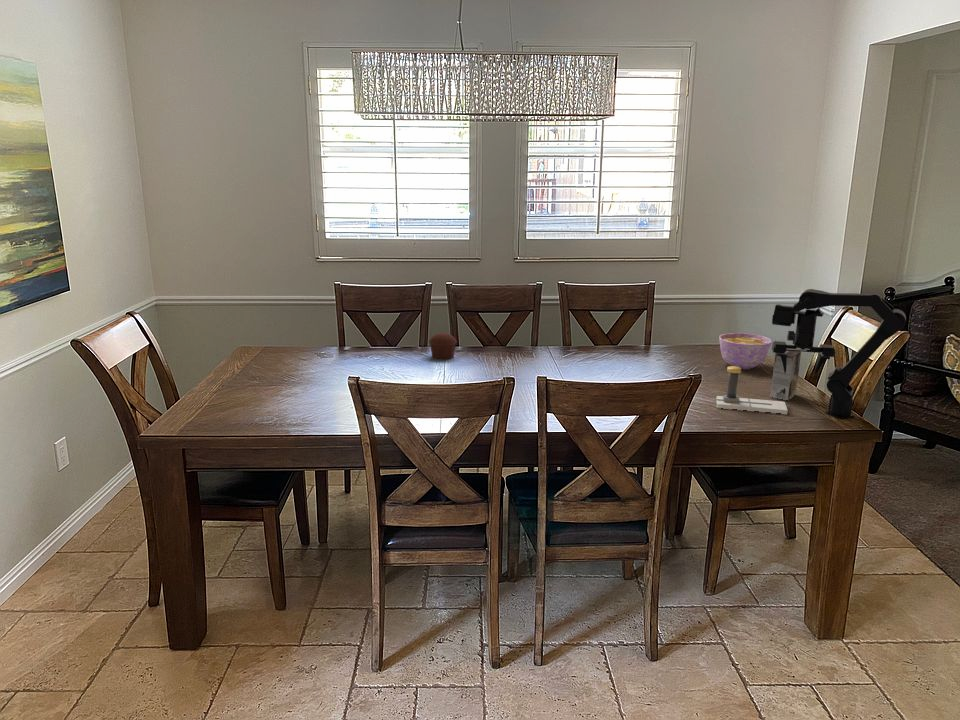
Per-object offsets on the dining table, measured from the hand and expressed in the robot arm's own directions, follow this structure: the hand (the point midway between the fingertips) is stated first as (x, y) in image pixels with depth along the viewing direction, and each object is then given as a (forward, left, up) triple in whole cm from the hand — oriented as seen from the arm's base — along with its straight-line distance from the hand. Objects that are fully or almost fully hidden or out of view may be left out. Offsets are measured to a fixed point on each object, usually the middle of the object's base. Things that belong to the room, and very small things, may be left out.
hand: (799, 373), depth 243 cm
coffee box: (+12, -5, -12) cm, 18 cm away
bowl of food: (+48, -16, -12) cm, 52 cm away
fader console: (+5, +14, -12) cm, 19 cm away
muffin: (+98, +96, -12) cm, 138 cm away
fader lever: (+9, +19, -10) cm, 23 cm away
